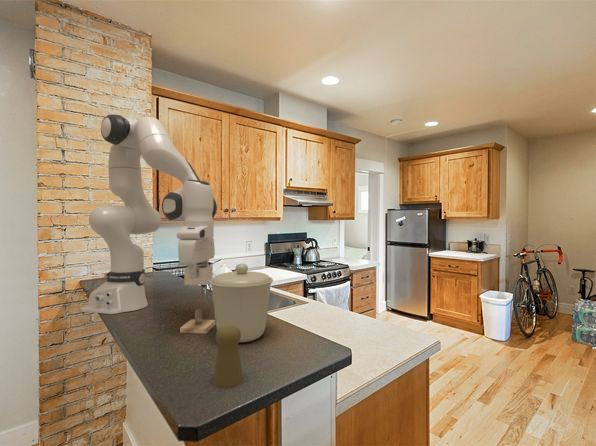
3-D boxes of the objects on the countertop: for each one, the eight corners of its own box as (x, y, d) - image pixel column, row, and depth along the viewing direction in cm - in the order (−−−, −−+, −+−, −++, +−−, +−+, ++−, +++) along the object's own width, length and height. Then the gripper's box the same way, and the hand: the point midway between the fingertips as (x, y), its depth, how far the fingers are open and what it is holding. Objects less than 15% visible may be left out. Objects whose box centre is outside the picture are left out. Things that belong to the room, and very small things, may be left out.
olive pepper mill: (232, 390, 61) (232, 334, 61) (207, 384, 63) (207, 330, 63) (248, 376, 66) (248, 325, 66) (224, 370, 69) (224, 321, 69)
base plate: (180, 332, 92) (180, 312, 92) (190, 323, 100) (191, 305, 100) (206, 333, 92) (206, 313, 92) (215, 324, 100) (215, 305, 100)
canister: (198, 334, 91) (199, 262, 91) (251, 322, 102) (252, 258, 102) (227, 355, 77) (228, 270, 77) (285, 337, 88) (285, 264, 88)
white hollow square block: (184, 284, 93) (184, 268, 93) (192, 280, 99) (192, 265, 99) (205, 284, 92) (205, 268, 92) (212, 280, 99) (212, 265, 99)
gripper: (201, 231, 106) (201, 271, 106) (174, 232, 86) (174, 282, 86) (219, 231, 106) (219, 271, 106) (196, 232, 85) (196, 282, 85)
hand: (198, 276), depth 96 cm, fingers closed on white hollow square block, 6 cm apart
